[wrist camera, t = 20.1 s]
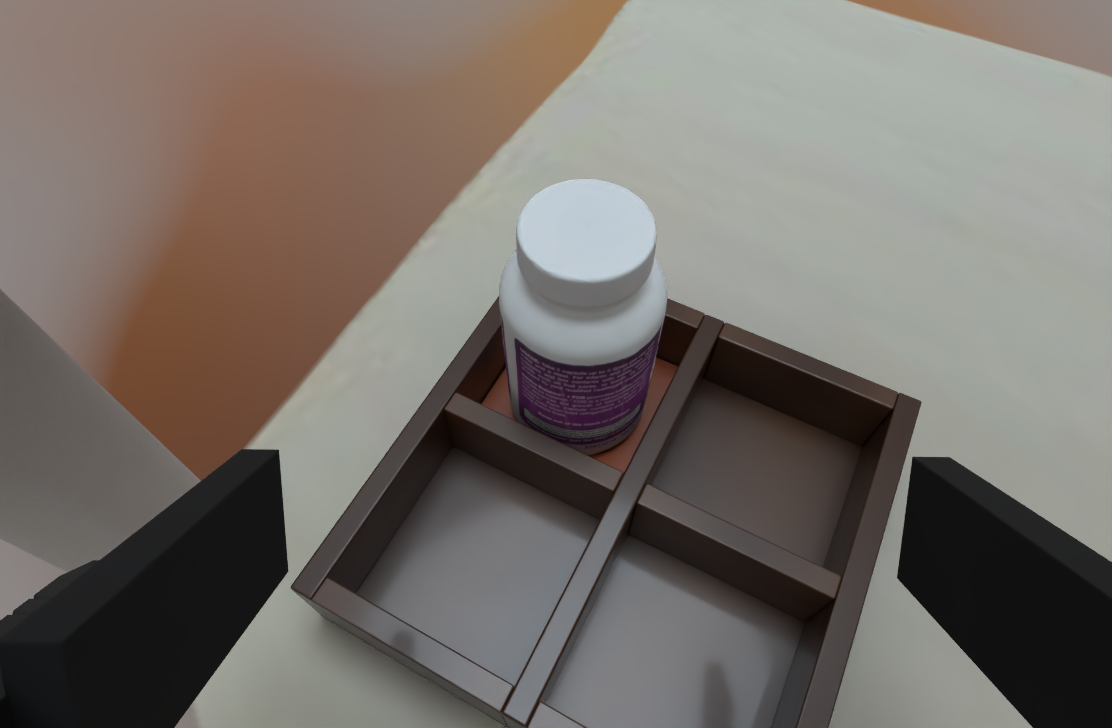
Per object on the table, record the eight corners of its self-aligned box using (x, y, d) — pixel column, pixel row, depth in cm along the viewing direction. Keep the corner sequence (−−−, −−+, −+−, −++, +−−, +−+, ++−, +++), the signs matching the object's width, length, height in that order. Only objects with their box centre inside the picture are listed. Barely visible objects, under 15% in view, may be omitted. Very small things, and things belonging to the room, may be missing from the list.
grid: (321, 615, 24) (288, 587, 21) (536, 298, 32) (535, 244, 29) (749, 872, 21) (784, 882, 18) (881, 445, 28) (922, 400, 25)
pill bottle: (672, 415, 28) (724, 249, 20) (558, 485, 26) (562, 335, 18) (593, 320, 30) (609, 137, 22) (483, 379, 29) (457, 205, 20)
